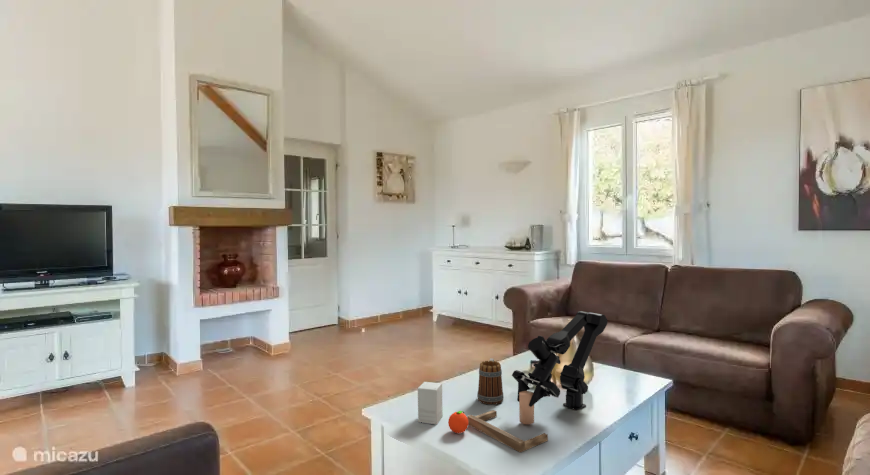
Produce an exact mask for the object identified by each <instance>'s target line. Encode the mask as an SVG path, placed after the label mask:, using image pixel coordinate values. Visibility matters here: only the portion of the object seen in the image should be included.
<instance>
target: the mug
mask: <svg viewBox="0 0 870 475" xmlns="http://www.w3.org/2000/svg"><path fill="white" fill-rule="evenodd" d="M502 372H503V370H502V365H501V363H500V362H499V361H498V362H497V361H496V360H495V358H491V357H490V358H489V360H485V361H484V360H483V361H481V362H480V364H479V368H478V387H477V388H478V391H477V400H478V401H479V402H480V403H481V404H484V405H487V406H488V405H491V406H493V405H499V404H501V403H503V401H504V391H503V378H502V377H503V376H502V375H503V373H502Z"/></svg>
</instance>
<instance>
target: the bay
mask: <svg viewBox="0 0 870 475" xmlns="http://www.w3.org/2000/svg"><path fill="white" fill-rule="evenodd" d="M497 414H498V413H497V410H495V409H492V410H489V411H485V412H484V413H480V414H478V415H473V414H469V415H466V416H467V418H468V426H470V427H471V428H473V429H475V430H477V431H479V432H481V433H483V434H484V435H486V436H488V437H489V438H492V439H494V440H495V441H498V442H499V443H502V444H504V446H505V445H506V446H508V447H509V448H511V449H513V450H515V451H517V452H519V453H522V452H525V451H527V450H530V449H531V448H534V447H536V446H539V445H542V444H544V443H545V442H548V440H549V435H548V434H547V433H545V432H544V433H540V434H538V435H536V436H534V437H531V438H528V439H526V440H523V439H521V438H519V437H517V436H515V435H513V434H511V433H509V432H507V431H505V430H503V429H501V428H499V427H496V426H495V425H493V424H492V423H489V422H487V421H488V420H491V419H494V418H497V416H498V415H497Z"/></svg>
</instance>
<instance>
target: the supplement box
mask: <svg viewBox="0 0 870 475" xmlns="http://www.w3.org/2000/svg"><path fill="white" fill-rule="evenodd" d="M443 407H444V406H443V383H440V382H429V381H423V382H422V384H420V385H419V386H418V387H417V416H418V417H417V418H418V419H417V421H418V423H421V422H422V423H423V424H429V425H431V424H432V425H438V423H439V422H440V421H441V420H442V418H443V417H444V416H443V415H444V414H443V410H444V409H443Z"/></svg>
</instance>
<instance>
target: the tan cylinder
mask: <svg viewBox="0 0 870 475" xmlns="http://www.w3.org/2000/svg"><path fill="white" fill-rule="evenodd" d="M533 393H534V391H530V390H527V391H521V392H519V402H518V405H519V408H518V410H519V415H518V416H519V418H518V419H519V423H521V424H523V425H533V424H534V423H535V404H534V405H533V406H532V407H530V406H529V403H530V400H531V398H532V395H533Z"/></svg>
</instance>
